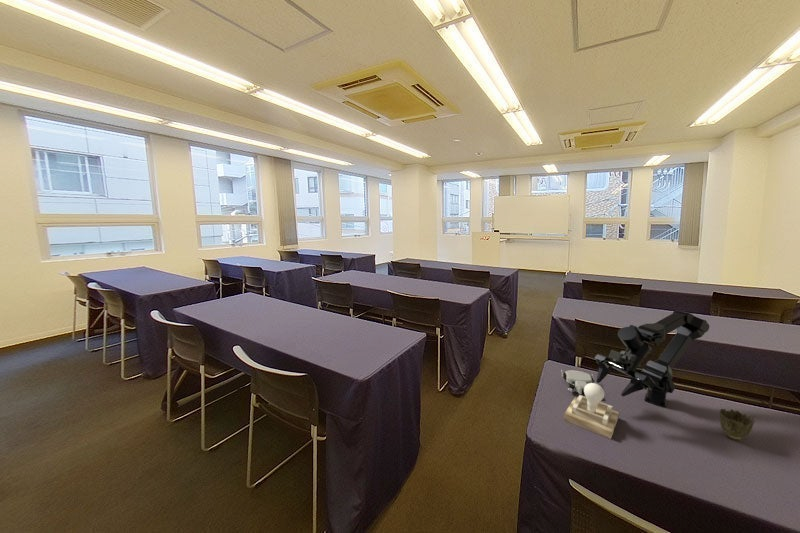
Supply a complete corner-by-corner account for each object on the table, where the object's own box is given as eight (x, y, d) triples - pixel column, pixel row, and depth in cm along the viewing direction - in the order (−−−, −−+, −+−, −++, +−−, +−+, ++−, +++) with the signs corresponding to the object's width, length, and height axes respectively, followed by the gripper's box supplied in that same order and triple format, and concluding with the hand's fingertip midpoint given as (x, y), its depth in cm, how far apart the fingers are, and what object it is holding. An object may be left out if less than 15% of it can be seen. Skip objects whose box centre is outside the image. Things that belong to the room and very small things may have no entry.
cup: (739, 432, 101) (743, 410, 100) (756, 448, 94) (761, 425, 93) (711, 427, 104) (714, 406, 102) (725, 442, 97) (729, 420, 95)
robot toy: (600, 402, 120) (591, 380, 134) (602, 392, 119) (592, 371, 133) (566, 396, 124) (560, 376, 138) (567, 386, 123) (561, 367, 137)
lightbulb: (585, 404, 112) (589, 377, 110) (604, 413, 108) (608, 385, 106) (578, 411, 109) (582, 383, 107) (597, 420, 104) (601, 391, 102)
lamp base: (574, 402, 118) (575, 390, 117) (618, 418, 109) (619, 405, 108) (563, 420, 108) (565, 407, 107) (610, 439, 98) (612, 425, 98)
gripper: (600, 333, 117) (575, 364, 115) (653, 353, 99) (626, 391, 97) (612, 349, 120) (589, 380, 119) (666, 371, 103) (640, 408, 101)
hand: (609, 388), depth 109 cm, fingers open, 9 cm apart
